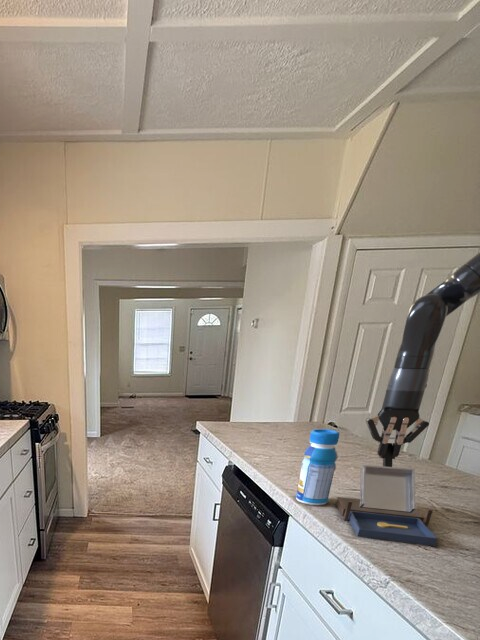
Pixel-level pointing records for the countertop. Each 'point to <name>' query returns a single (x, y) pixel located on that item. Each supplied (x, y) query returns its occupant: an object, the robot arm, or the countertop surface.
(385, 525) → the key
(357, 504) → the stand
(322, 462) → the beverage bottle
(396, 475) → the grey dustpan
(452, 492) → the countertop surface
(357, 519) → the tray
